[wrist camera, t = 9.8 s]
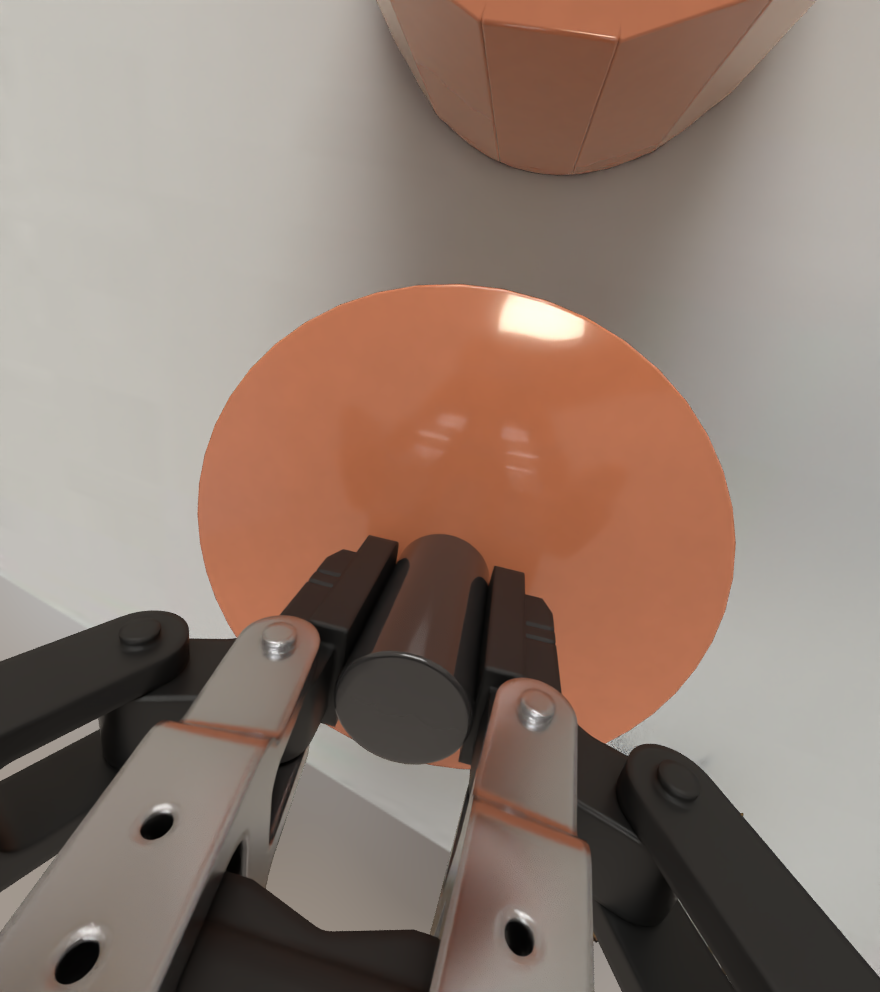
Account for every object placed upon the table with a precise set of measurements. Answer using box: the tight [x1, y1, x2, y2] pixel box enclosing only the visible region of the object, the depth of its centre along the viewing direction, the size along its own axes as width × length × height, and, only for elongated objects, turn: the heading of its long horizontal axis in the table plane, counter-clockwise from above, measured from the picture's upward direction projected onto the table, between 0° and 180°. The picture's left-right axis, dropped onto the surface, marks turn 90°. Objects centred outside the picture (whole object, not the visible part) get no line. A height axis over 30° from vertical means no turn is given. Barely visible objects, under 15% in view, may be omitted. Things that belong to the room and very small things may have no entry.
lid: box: [198, 284, 736, 769], centre depth 10 cm, size 14×14×6 cm
